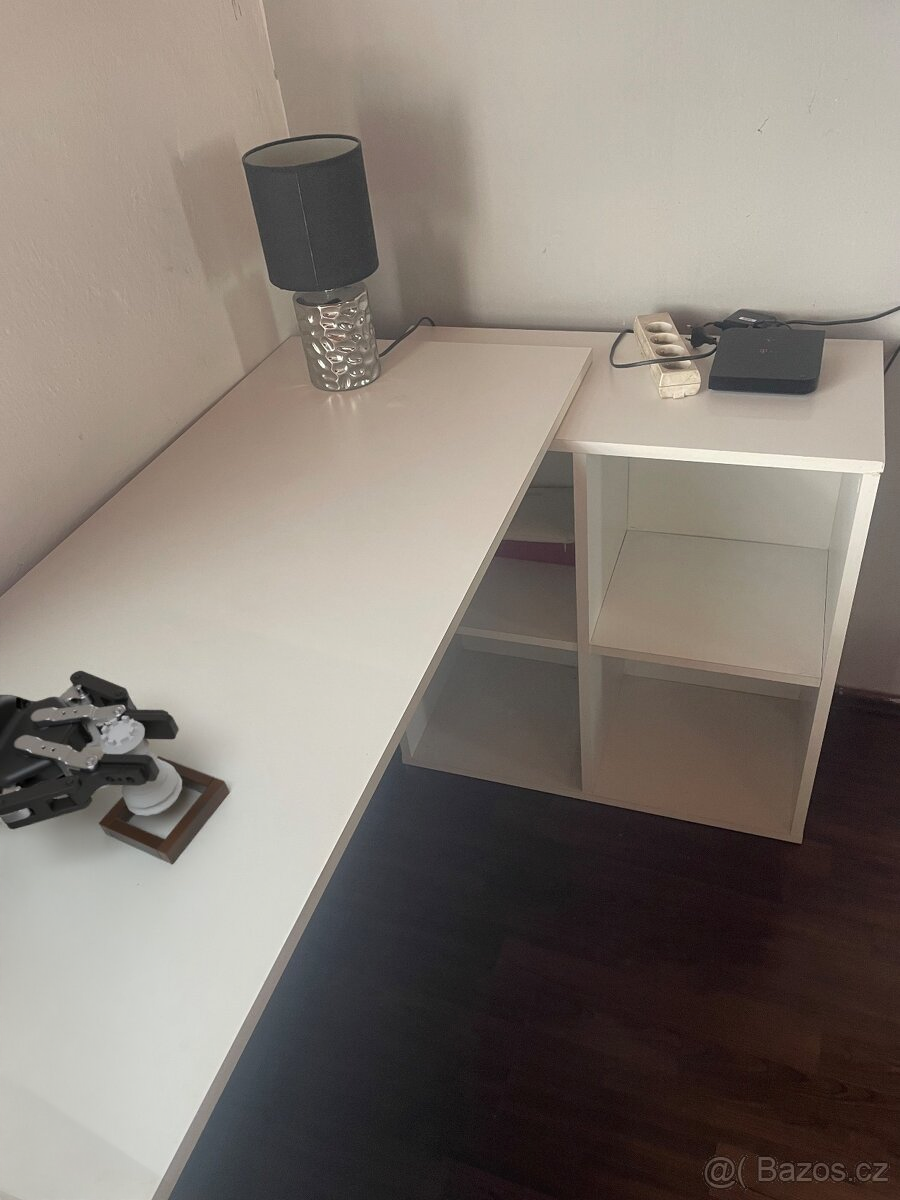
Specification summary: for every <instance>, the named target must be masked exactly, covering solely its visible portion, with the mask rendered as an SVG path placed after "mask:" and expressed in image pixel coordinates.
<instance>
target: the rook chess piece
mask: <svg viewBox="0 0 900 1200" xmlns="http://www.w3.org/2000/svg"><path fill="white" fill-rule="evenodd" d="M121 719H122V721H118V720H117V719H116V717H115V718H113V719H112V720H110V722H109V724H112V725H111V726H110V727H109V728H108V727H107V726H105V725H104V726H103V728H102V730H101V731H102V733H103V735H100V736H101V738H102V739H101V744H100V746H99V747H100V749H101V750H102V752H103V753H104V754H136V755H149V756H151V757H152V758H153V759H154V761H155V763H156V765H157V767H158V768H159V770H160V772H159V774H158V776H157V778H156V780H155V781H147V782H146V784H143V785H139V786H131V785H130V786H127V785H121V786H122V787H121V797H122V796H123V798H124V800H125V802H126V805H127V807H128V809H129V810H130V811H131V812H133V813H135V814H134V815H137V816H154V815H158V814H161V813H163V812H165V811H166V810H169V808H170V807H172V806H173V804H175V803H176V801H177V800H178V797H179V796H180V793H181V791H182V790H183V785H182V779H181V777H180V776H179V774H178V773H177V772H176V770H175V768H174V767H173V766H172V765H170V764H169V763H167V762H165V761H162V760H160V759H158V758H157V756H156V755H155V754H154V753H153V752H152V750H151V749H150V742H149V739H146V738H144V733H145V728H144V726H143V725H142V724H141V723H139V722H138V721H134V720H133V719H131V720H130V718H129V716H122V718H121Z"/></svg>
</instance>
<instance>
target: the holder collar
mask: <svg viewBox="0 0 900 1200" xmlns="http://www.w3.org/2000/svg"><path fill="white" fill-rule="evenodd" d="M156 758H158V759H160V760H162V761H165V762H167V763H169V764H170V765H172V766H173V767H174V768H175V770H176V772H177V773H178V774H179V776H180V777H181V779H182V786H183V787H187V788H188V789H191V790H194V791H197V792H199V793H201V794H200V795H199V797H198V798H197V799H196V800H195V801H194V803H193V804H192V805H191V807H190V808H189V809H188V810H187V812H186V813H185V814H184V815H183V817H182V818H181V819H180V820H179V821H178V823H176V825H175V826H174V828H173V829H172V830H171V831H170V833H168V835H167V836H166V837H165V838H163V837H160V836H159V835H157V834H154V833H152V832H149V831H147V830H145V829H142V828H140V827H137V826H136V825H133V824H131V823H129V821H130V819H132V818H133V817H134V815H136V814H135V813H133V812H131V811H130V810H129V809H128V807H127V805H126V802H125V800H124V798H123V796H122V795H121V797H120V798H119V799H118V800H117V802H115V804H114V805H113V806H112V807H111V808H110V809H109V811H108V812H107V813H106V814H105V815H104V816H103V817H102V818H101V819H100V821H99V822H98V826H99V827H100V829H101V830H102V831H103V833H104V834H105V835H107V836H109V837H111V838H113V839H115V840H118V841H119V842H122V843H124V844H126V845H129V846H131V847H133V848H135V849H137V850H139V851H142V852H144V853H147V854H148V855H151V856H153V857H155V858H157V859H159V860H162V861H164V862H166V863H169V864H171V865H173V864H175V862H176V861H177V859H178V858H179V857H180V856H181V854H182V853H183V852H184V850H185V849H186V848H187V847H188V845H189V844H190V843H191V842H192V840H193V839H194V838H195V837H196V835H197V834H198V833H199V831H200V830H202V828H203V827H204V825H205V824H206V822H207V821H208V819H209V818H210V817H211V816H212V815H213V814H214V813H215V811H216V810H217V809H218V808H219V806H220V805H221V803H222V802H223V801H224V800H225V799H226V797H227V796H228V795H229V794H230V790H229V788H228V786H227V784H226V782H225V780H223V779H220V778H217V777H215V776H212V775H209V774H207V773H204V772H201V771H199V770H197V769H194V768H191V767H189V766H186V765H183V764H181V763H180V762H179V763H178V762H176V761H174V760H171V759H168V758H165V757H163V756H161V755H157V756H156Z"/></svg>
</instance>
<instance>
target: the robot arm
mask: <svg viewBox="0 0 900 1200" xmlns="http://www.w3.org/2000/svg"><path fill="white" fill-rule="evenodd" d="M69 681H70V682H71V684H72V685H71V686H70V687H69V688H67V689H66V691H64V692H63V693H62V694H61V695H60V696H49V697H46V698H44V699H39V700H31V699H27V698H23V697H22V696H21V697H20V696H17V695H13V694H0V819H1V820H2V821H3V822H4V824H5V825H6V827H7V828H8V829H10V830H16V829H20V828H23V827H26V826H30V825H34V824H36V823H40V822H43V821H46V820H50V819H55V818H57V817H61V816H65V815H68V814H72V813H74V812H78V811H82V810H84V809H87V808H88V807H89V806H90V805H91V804H92V802H93V798H92V796H93V795H94V794H95V793H96V792H97V791H98V790H102V789H105V788H106V787H108V786H123V785H127V786H130V785H131V786H139V785H143V784H146V782H147V781H155V780H156V778H157V776H158V774H159V772H160V770H159V768H158V767H157V765H156V763H155V761H154V759H153V758H152V757H151V756H149V755H136V754H106V753H103V754H102V756H101V758H99V757H98V756H97V755H95V754H92V753H86V752H83V751H84V749H88V748H93V747H94V748H95V747H100V744H101V739H102V738H101V736H100V735H103V733H102V731H101V730H102V728H103V726H104V725H105V726H107V727H108V728H109V727H110V726H111V725H112V724H111V723H110V720H112V719H113V718H115V717H116V719H117V720H118V721H122V719H121V718H122V716H129V718H130V720H131V719H133V720H134V721H138V722H139V723H141V724H142V725H143V726H144V728H145V733H144V738H146V739H147V740H175V739H176V737H177V735H178V733H179V731H180V729H179V726H178V724H177V722H176V721H175V718H174V716H172V715H171V714H170V713H169V712H168V711H167V710H165V709H138V708H137V706H136V705H135V704H134V702H133V700H132V698H131V697H130V694H129V691H128V690H127V688H126V687H123V686H121V685H119V684H116V683H114V682H112V681H109V680H106V679H104V678H102V677H98V676H97V675H94V674H91V673H89V672H85V671H84V670H77V671H74V672H73V673H72V674H71V675H70V677H69ZM108 723H109V724H108ZM65 795H67V796H65ZM61 796H64V797H61ZM57 797H58V798H57ZM59 797H60V798H59Z"/></svg>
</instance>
